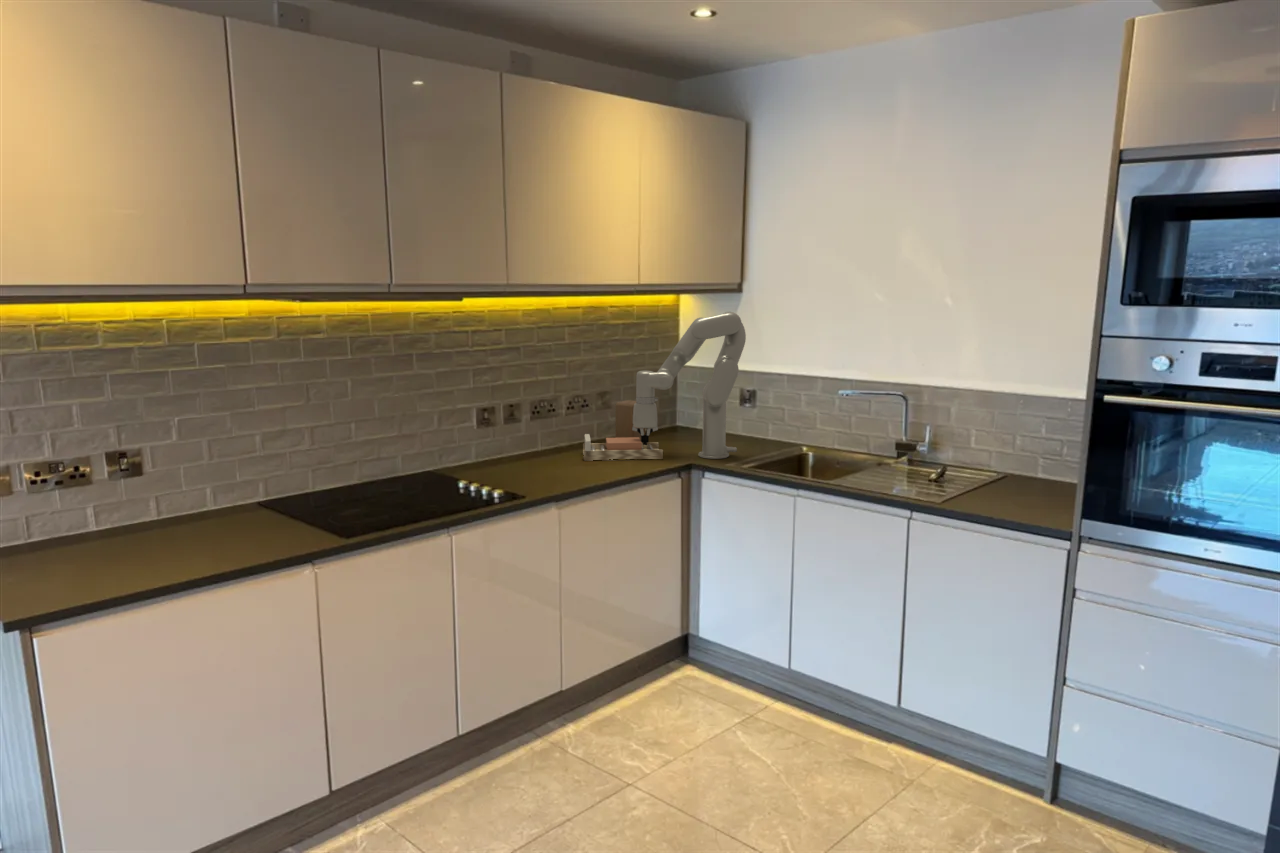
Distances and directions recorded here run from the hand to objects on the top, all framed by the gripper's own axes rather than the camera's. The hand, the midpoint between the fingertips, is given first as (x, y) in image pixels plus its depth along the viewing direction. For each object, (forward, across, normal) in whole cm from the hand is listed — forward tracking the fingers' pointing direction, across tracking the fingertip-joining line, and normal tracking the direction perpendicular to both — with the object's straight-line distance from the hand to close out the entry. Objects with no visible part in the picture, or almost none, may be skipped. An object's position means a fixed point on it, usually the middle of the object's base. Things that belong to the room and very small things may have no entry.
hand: (644, 444), depth 342 cm
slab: (+1, +9, 0) cm, 9 cm away
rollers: (+3, +9, 0) cm, 10 cm away
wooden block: (+5, +4, -19) cm, 20 cm away
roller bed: (+5, +9, 0) cm, 11 cm away
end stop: (+4, +24, 0) cm, 24 cm away
